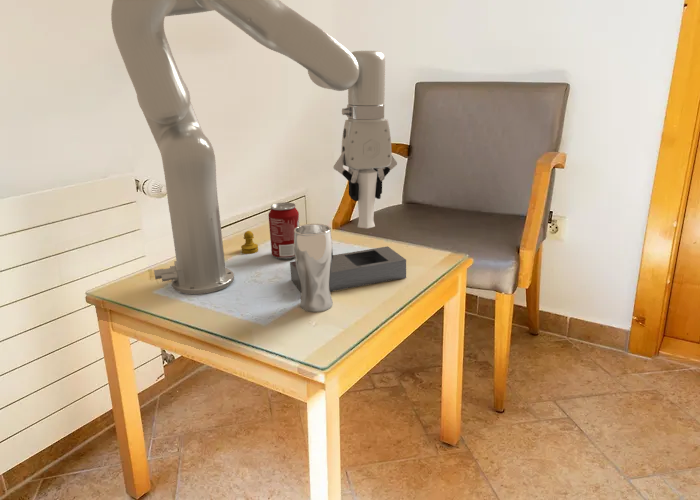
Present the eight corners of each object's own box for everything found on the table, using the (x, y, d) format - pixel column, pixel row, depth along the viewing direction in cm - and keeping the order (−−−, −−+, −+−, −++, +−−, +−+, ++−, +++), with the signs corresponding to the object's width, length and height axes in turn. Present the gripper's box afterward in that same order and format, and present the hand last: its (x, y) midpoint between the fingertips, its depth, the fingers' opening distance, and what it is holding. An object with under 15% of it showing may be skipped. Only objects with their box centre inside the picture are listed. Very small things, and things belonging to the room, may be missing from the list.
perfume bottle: (351, 224, 133) (351, 157, 128) (369, 222, 135) (369, 156, 130) (360, 230, 129) (361, 161, 124) (378, 227, 131) (379, 159, 126)
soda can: (299, 260, 134) (296, 209, 130) (269, 261, 134) (265, 210, 130) (302, 250, 140) (299, 201, 136) (274, 251, 140) (270, 201, 136)
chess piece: (244, 255, 138) (242, 234, 137) (239, 250, 142) (237, 230, 140) (260, 252, 140) (259, 231, 138) (255, 247, 143) (253, 227, 142)
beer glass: (315, 294, 116) (311, 220, 111) (342, 303, 112) (339, 227, 107) (290, 307, 111) (284, 230, 106) (317, 316, 107) (313, 237, 102)
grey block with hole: (303, 296, 115) (302, 277, 114) (291, 280, 123) (289, 262, 122) (406, 277, 122) (406, 259, 121) (387, 263, 130) (387, 246, 129)
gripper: (334, 117, 117) (334, 206, 123) (410, 113, 123) (407, 199, 129) (321, 113, 124) (323, 198, 130) (395, 109, 130) (393, 191, 136)
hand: (365, 197), depth 130 cm, fingers closed on perfume bottle, 4 cm apart
